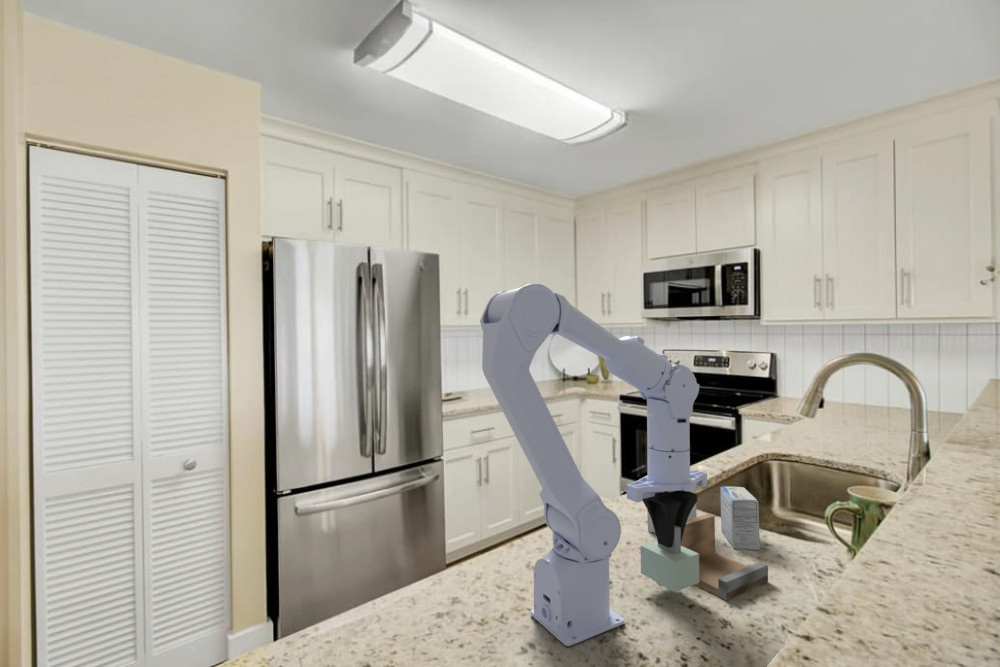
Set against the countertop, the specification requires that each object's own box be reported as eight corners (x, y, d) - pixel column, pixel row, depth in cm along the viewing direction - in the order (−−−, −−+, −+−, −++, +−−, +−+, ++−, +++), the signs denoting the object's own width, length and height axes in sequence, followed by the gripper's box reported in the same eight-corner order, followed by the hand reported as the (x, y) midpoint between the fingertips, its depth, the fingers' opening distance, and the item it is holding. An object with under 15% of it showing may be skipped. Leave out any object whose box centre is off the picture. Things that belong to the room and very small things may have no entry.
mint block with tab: (674, 592, 62) (674, 535, 63) (640, 573, 68) (640, 521, 68) (699, 582, 65) (698, 528, 65) (664, 565, 70) (664, 514, 70)
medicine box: (760, 551, 80) (759, 500, 80) (732, 549, 81) (731, 499, 81) (745, 533, 88) (745, 486, 88) (720, 531, 88) (719, 485, 89)
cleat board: (726, 600, 65) (725, 549, 65) (667, 570, 73) (667, 525, 73) (768, 581, 70) (767, 534, 70) (708, 555, 78) (708, 513, 78)
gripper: (654, 459, 60) (655, 567, 59) (725, 447, 67) (726, 542, 66) (615, 449, 66) (615, 546, 65) (684, 438, 73) (684, 526, 73)
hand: (669, 543), depth 66 cm, fingers closed on mint block with tab
